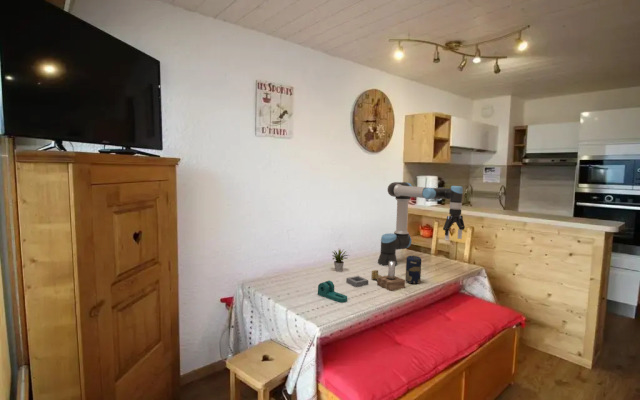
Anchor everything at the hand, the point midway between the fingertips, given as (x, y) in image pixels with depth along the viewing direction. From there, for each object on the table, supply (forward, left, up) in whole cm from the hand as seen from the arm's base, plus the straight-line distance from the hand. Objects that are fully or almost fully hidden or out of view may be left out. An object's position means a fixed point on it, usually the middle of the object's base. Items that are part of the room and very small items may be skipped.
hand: (453, 239), depth 225 cm
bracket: (-11, -92, -28) cm, 96 cm away
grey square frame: (-23, -65, -28) cm, 74 cm away
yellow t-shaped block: (-20, -49, -27) cm, 59 cm away
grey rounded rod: (-9, -49, -28) cm, 57 cm away
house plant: (-51, -60, -28) cm, 83 cm away
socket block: (-9, -49, -28) cm, 57 cm away
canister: (-8, -30, -28) cm, 41 cm away
